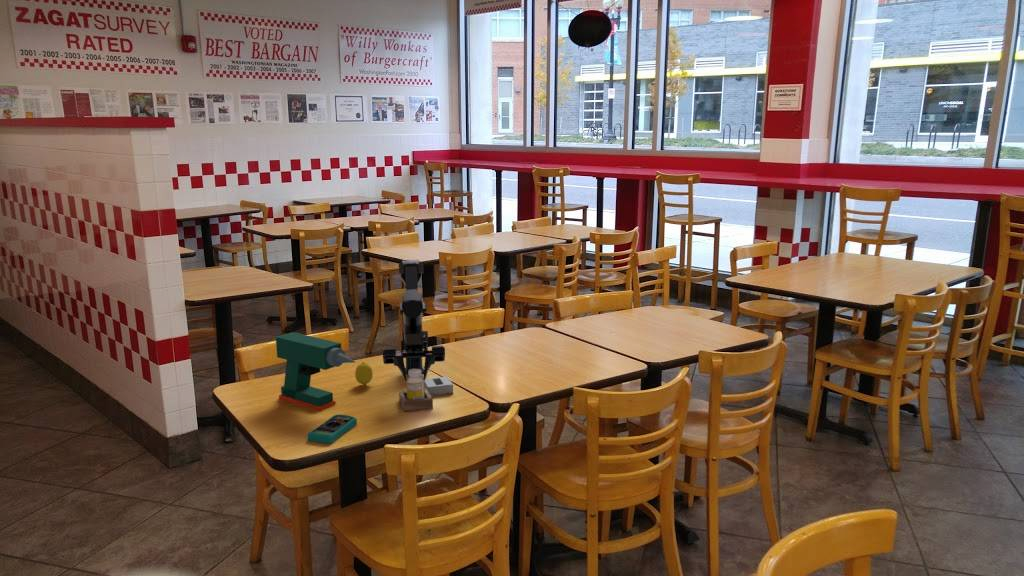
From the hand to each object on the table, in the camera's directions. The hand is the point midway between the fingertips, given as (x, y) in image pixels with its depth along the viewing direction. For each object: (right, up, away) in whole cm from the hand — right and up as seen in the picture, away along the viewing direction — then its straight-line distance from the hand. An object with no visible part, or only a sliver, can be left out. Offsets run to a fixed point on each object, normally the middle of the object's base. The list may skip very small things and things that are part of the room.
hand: (415, 380), depth 215 cm
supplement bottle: (0, -7, +3) cm, 7 cm away
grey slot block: (+5, -5, +15) cm, 17 cm away
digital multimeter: (-20, -13, -17) cm, 29 cm away
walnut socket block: (0, -8, +3) cm, 8 cm away
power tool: (-28, -8, +2) cm, 30 cm away
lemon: (-19, -4, +20) cm, 28 cm away
